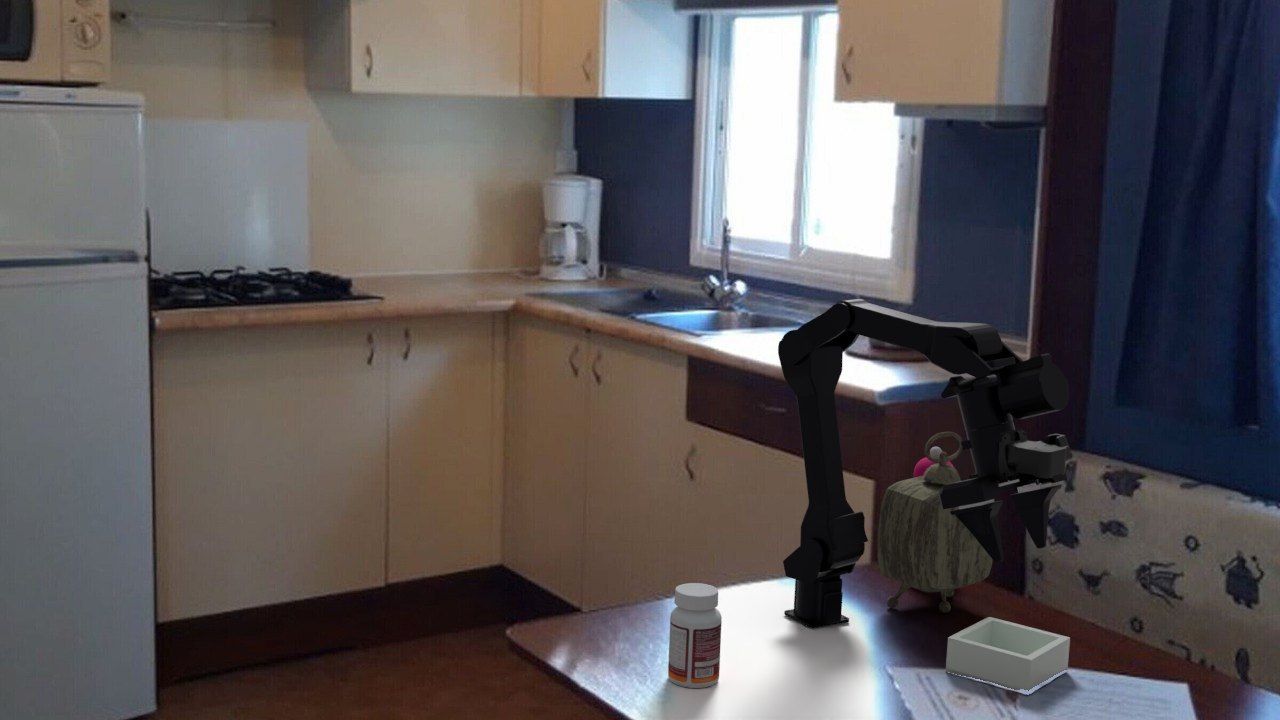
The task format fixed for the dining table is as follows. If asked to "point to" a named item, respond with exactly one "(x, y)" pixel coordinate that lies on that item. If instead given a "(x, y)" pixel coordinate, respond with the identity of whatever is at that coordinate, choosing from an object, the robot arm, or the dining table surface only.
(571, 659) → the dining table surface
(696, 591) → the pill bottle
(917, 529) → the tabletop clock
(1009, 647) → the sage open tray box
